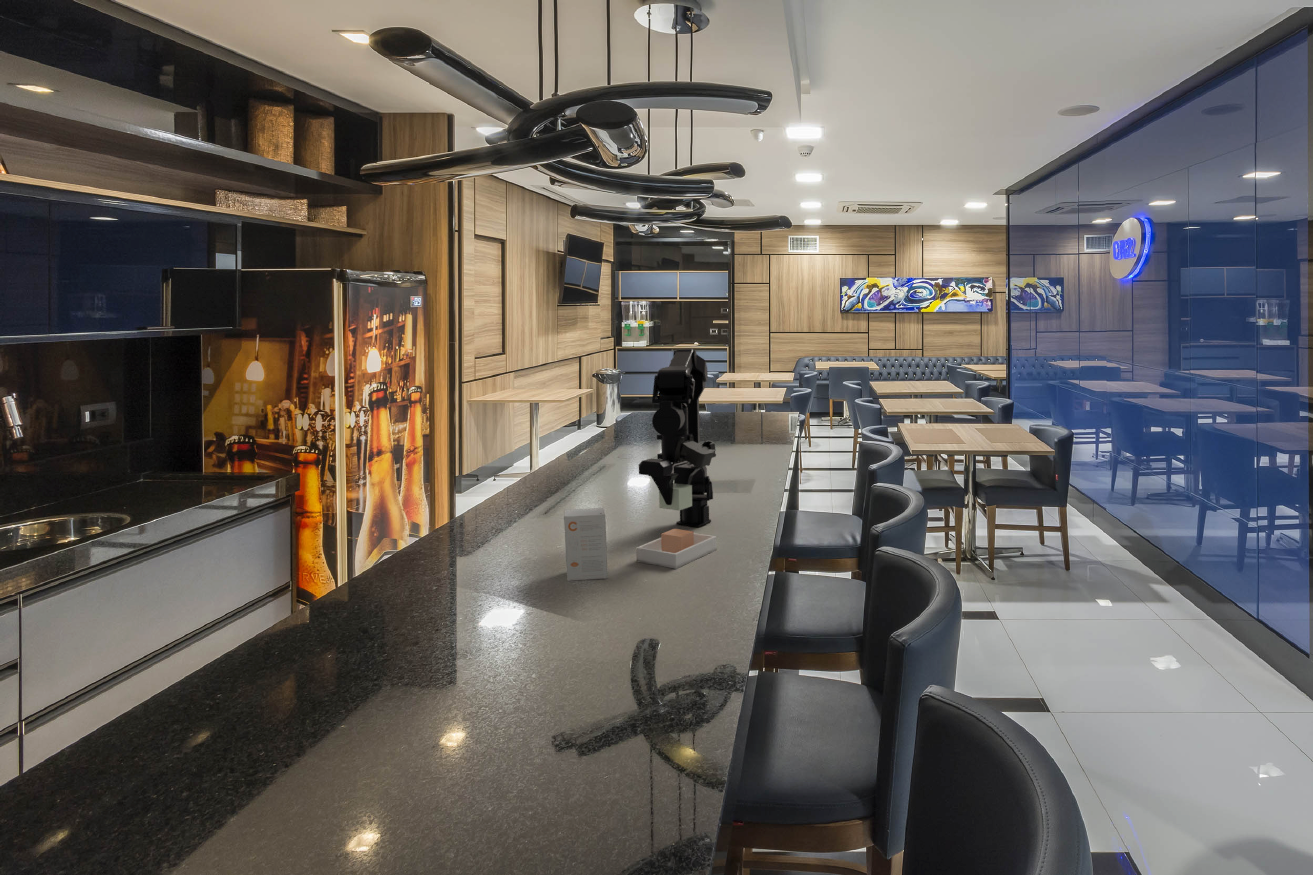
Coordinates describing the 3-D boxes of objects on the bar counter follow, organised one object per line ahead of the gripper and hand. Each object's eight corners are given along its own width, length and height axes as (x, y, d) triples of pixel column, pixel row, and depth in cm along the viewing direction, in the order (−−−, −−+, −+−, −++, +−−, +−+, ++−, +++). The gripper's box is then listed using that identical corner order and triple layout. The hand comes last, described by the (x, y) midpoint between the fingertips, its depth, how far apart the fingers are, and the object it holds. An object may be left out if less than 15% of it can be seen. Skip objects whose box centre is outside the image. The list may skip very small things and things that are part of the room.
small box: (606, 569, 166) (604, 506, 164) (608, 579, 160) (605, 514, 158) (566, 571, 166) (564, 508, 164) (566, 581, 159) (563, 516, 157)
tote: (636, 561, 171) (636, 547, 171) (678, 543, 184) (678, 530, 184) (676, 568, 165) (675, 554, 165) (716, 549, 178) (716, 536, 178)
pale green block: (679, 510, 170) (678, 489, 169) (659, 508, 173) (659, 487, 172) (692, 505, 174) (691, 485, 173) (672, 503, 177) (672, 483, 176)
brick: (661, 554, 174) (661, 533, 174) (674, 548, 178) (674, 528, 178) (681, 557, 171) (680, 536, 171) (694, 551, 175) (693, 531, 175)
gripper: (682, 437, 159) (683, 515, 161) (730, 426, 174) (731, 498, 176) (636, 433, 165) (638, 509, 168) (686, 423, 181) (687, 493, 183)
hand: (676, 502), depth 173 cm, fingers closed on pale green block, 5 cm apart
